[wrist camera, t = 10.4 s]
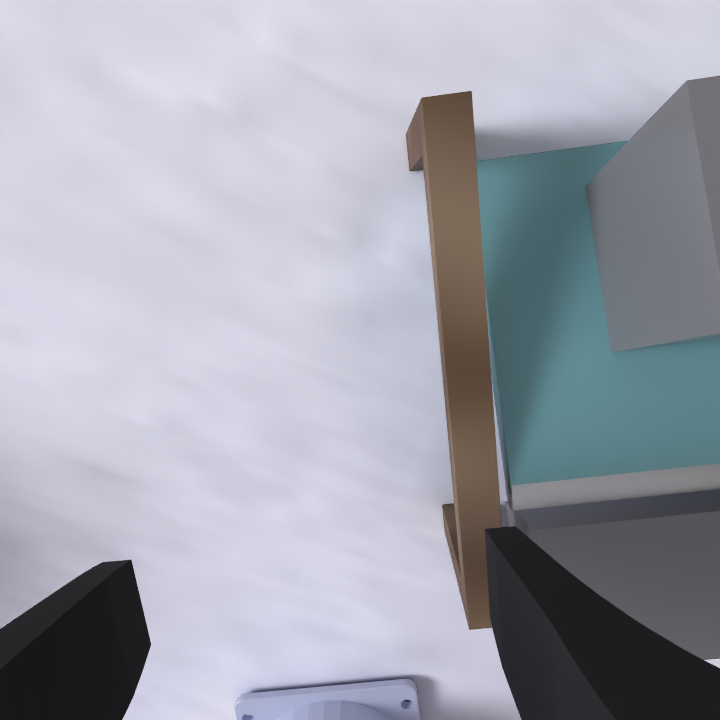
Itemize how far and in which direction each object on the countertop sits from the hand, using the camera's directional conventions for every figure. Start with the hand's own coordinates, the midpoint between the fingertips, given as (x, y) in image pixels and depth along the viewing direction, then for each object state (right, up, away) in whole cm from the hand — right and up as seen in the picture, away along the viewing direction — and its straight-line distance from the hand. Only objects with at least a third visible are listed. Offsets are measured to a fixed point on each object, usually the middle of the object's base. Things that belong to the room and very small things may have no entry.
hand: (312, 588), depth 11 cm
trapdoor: (+11, +3, +9) cm, 14 cm away
